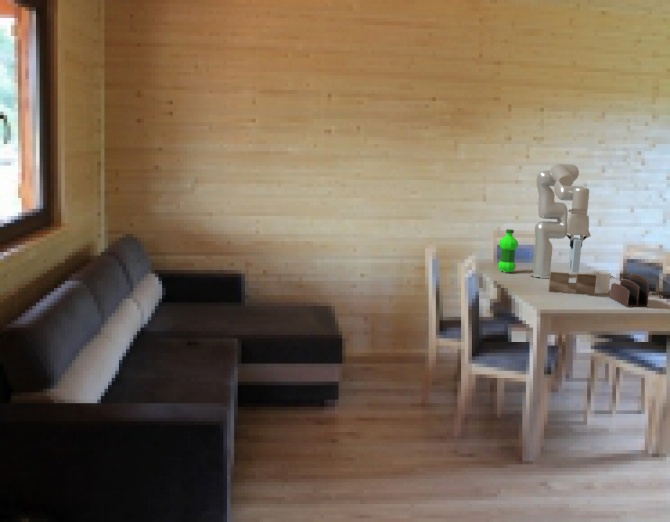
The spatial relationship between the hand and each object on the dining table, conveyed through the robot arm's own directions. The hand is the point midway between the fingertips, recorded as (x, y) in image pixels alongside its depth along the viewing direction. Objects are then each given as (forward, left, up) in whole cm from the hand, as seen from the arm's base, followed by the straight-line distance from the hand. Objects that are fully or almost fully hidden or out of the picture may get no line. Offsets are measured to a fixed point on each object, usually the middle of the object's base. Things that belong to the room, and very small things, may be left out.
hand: (575, 248), depth 354 cm
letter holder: (+14, +25, -24) cm, 37 cm away
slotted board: (0, 0, -23) cm, 23 cm away
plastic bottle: (-48, -30, -23) cm, 61 cm away
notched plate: (0, 0, -11) cm, 11 cm away
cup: (-11, +15, -23) cm, 30 cm away
